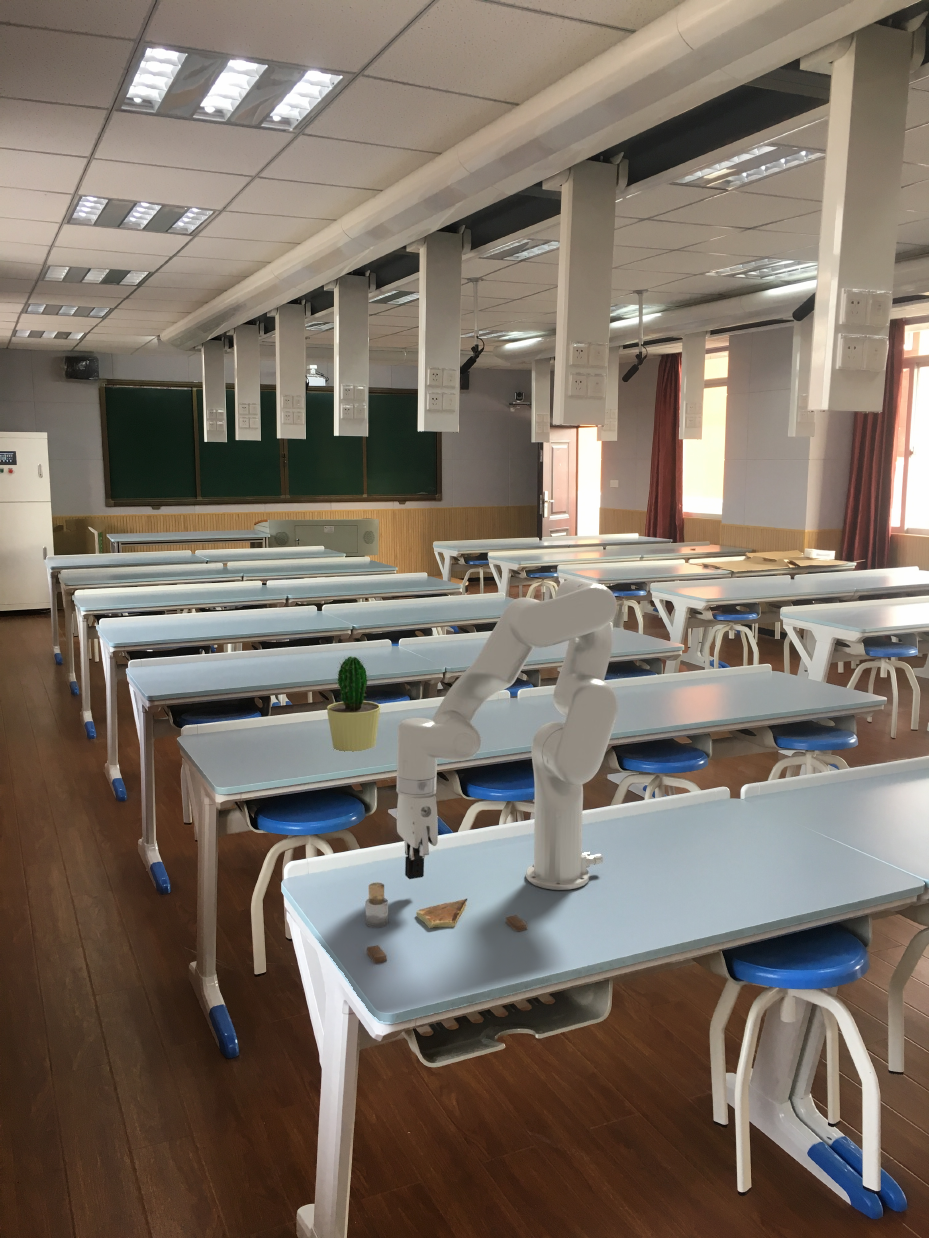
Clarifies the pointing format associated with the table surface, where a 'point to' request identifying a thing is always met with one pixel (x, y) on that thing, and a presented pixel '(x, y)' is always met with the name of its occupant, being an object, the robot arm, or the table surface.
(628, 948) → the table surface
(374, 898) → the gold capped bottle
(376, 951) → the small brown blocks
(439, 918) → the shard
